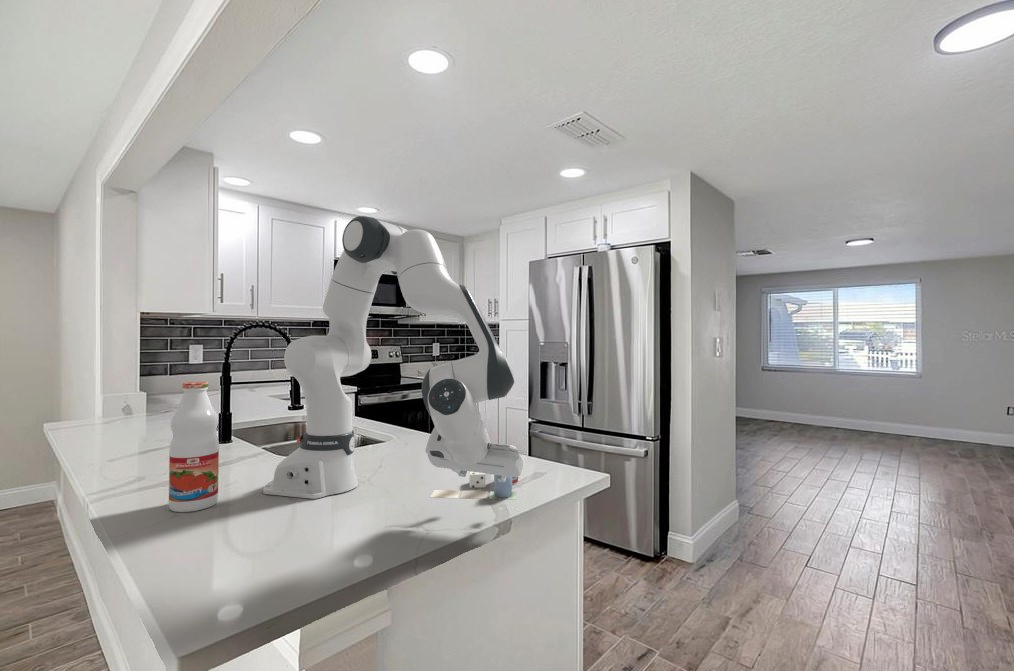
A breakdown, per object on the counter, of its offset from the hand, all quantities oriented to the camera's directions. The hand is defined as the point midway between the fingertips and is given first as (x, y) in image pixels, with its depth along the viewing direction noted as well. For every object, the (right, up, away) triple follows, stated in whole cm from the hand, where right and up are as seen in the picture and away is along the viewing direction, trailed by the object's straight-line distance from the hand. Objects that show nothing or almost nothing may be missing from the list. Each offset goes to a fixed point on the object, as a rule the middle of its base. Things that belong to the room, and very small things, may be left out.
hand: (482, 476), depth 106 cm
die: (-2, -8, +17) cm, 19 cm away
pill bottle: (+6, -8, +21) cm, 23 cm away
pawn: (+4, -7, +10) cm, 13 cm away
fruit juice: (-66, -7, +2) cm, 66 cm away
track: (-3, -8, +10) cm, 13 cm away
